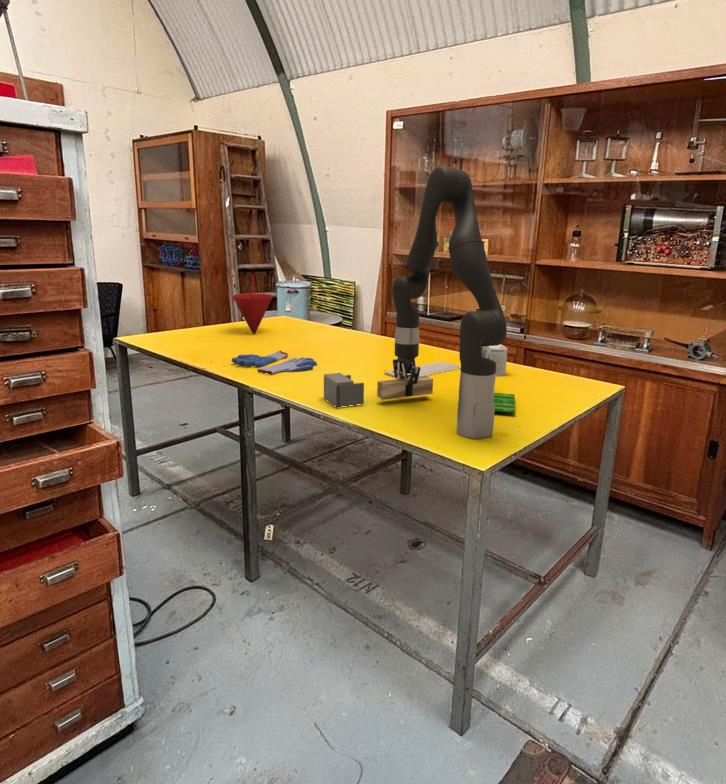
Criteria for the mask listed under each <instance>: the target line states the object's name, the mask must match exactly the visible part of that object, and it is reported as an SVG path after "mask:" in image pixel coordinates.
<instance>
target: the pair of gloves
mask: <svg viewBox="0 0 726 784" xmlns="http://www.w3.org/2000/svg"><path fill="white" fill-rule="evenodd" d="M288 357H289V354H288V353H287V351H286V352H285V351H282V350H278V351H276V352H274V353H273V352H272V353H271V354H267V355H266V356H265V355H264V356H260V355H259V354H252V353H251V354H239V355H237V356H236V357H232V358H231V362H232V363H233V364H235V365H238V366H241V365H243V366H246V367H247V368H248V367H249V368H252V367H251V366H254V367H255V368H256V367H257V372H258V373H260V372H262V373H261V374H264V373H268V374H270V375H269V376H273V375H274V376H275V374H277V373H286V372H287V373H292V372H295V371H296V372H307V371H312V370H313V369H314V367H315V366H318V363H317V362H316V361H315V359H313V358H311V357H304V356H303V357H298V358H297V357H293V358H290V359H288V360H286V361H282V362H280V363H278V364H272V365H270V366H267V364H268V365H269V364H270V363H273V362H275V361H276V360H277V361H280V360H282V359H287V358H288ZM265 365H266V366H265ZM262 366H263V367H262ZM306 370H307V371H306ZM281 371H283V372H281ZM296 372H295V373H296ZM268 374H267V375H268Z"/></svg>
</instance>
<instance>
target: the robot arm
mask: <svg viewBox="0 0 726 784" xmlns="http://www.w3.org/2000/svg"><path fill="white" fill-rule="evenodd" d="M472 184H473V183H472V180H471V177H470V175H469V173H467V172H466V171H465V170H463V169H459V168H456V167H451V166H446V165H438V166H436V167H435V168H433V170H432V171H431V172H430V174H429V176H428V178H427V181H426V187H425V188H424V189H425V190H424V195H423V200H422V203H421V209H420V214H419V219H418V224H417V228H416V233H415V236H414V239H413V242H412V244H411V247H410V250H409V252H408V256H407V257H406V258H407V259H406V264H405V265H406V267H407V268H408V269H409V270H411V271H410V274H409V275H402V276H398V277H396V279H395V280H394V281H393V283H392V287H391V295H392V299H393V303H394V309H395V312H396V315H395V333H394V356H396V357H397V358H396V359H392V367H393V370H394V376H395V378H394V379H403V378H405V382H406V389H405V395H406V396H411V397H413V396H412V391H413V384H417V381H418V377H419V373H420V367H416V366H417V365H416V358H417V357H419V354H420V353H419V351H420V348H419V347H420V311H419V309H418V308H417V307H414V306H413V305H412V300H414V299H419V298H420V297H422V296H423V294H424V293H425V291H426V289H427V285H428V279H429V271H430V266H431V264H432V261H433V258H434V256H435V255H436V254H435V253H436V250H437V246H438V233H437V225H436V223H437V213H438V210H439V208H440V205H441V204H442V203H445V204H450V206H451V207H452V211H453V215H454V221H455V223H454V227H453V230H452V232H451V235H450V238H449V241H448V253H449V258H450V262H451V265H452V266H451V267H452V270H453V273H454V274H455V275H456V277H457V278H458V280H459V281H460V282H461V283H462V284H463V285H464V287H466V288H467V289H468V291H469V292H470V293H471V295H473V297H474V299H475V301H476V303H477V305H478V308H479V310H474V311H472V310H471V311H468V312H466V313H465V314H464V315H463V316H462V318H461V320H460V327H459V362H460V368H461V369H460V372H459V373H460V374H459V384H458V385H459V387H458V403H457V416H456V417H457V418H456V428H455V429H456V433H457V434H459V436H463V437H466V438H470V439H473V440H478V439H484V438H489V437H493V434H494V425H495V424H494V423H495V422H494V421H495V402H493V399H494V393H495V387H496V377H497V376H496V363H495V361H493V360H491V359H488V358H485V357H483V356H482V348H483V346H495V345H500V344H501V345H503V343H504V341H505V340H506V338H507V333H508V331H507V323H506V317H505V314H504V312H503V309H502V306H501V302H500V300H499V297H498V295H497V291H496V289H495V284H494V283H493V279H492V274H491V271H490V267H489V263H488V258H487V254H486V250H485V246H484V242H483V238H482V236H481V235H482V234H481V231H480V226H479V222H478V217H477V212H476V205H475V197H474V189H473V185H472ZM407 374H410V375H407ZM409 377H410V378H409ZM408 378H409V380H408ZM414 378H415V379H414Z"/></svg>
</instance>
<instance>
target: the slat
mask: <svg viewBox="0 0 726 784" xmlns="http://www.w3.org/2000/svg"><path fill="white" fill-rule="evenodd" d="M414 379H415V378H414ZM408 380H409V378H408ZM376 386H377V387H376V388H377V389H376V391H377V393H376V396H377V398H378V399H381V400H382V401H385V400H394V399H400V398H401V399H402V398H408V397H409V398H411V397H417V396H424V395H432V394H433V393H434V392H433V390H434V389H433V388H434V378H432V377H430V376H422V377H418V381H417V384H413V391H412V396H406V395H405V389H406V382H405V378H403V379H397V378H394V379H388V380H387V379H386V380H385V379H384V380H378V381H377V385H376Z"/></svg>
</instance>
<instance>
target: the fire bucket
mask: <svg viewBox="0 0 726 784" xmlns="http://www.w3.org/2000/svg"><path fill="white" fill-rule="evenodd" d="M254 278H255V277H254V273H252V275H251V279H250V280H251V281H250V283H252V285H250V288H249V291H248V293H241V294H240V293H238V294H234V295H232V296H231V297H232V299H233V300H234V302H235V304H236V306H237V307H238V311H239V312H240V313H241V315H242V318H244V322H246V324H247V326H248V328H249V329H250V331H251V333H252V335H256V333H257V331H258V329H259V327H260V325H261V323H262V320H263V318H264V316H265V314H266V313H267V309H268V308H269V305H270V303H271V301H272V299H273V298H274V295H272V294H267V293H253V291H251V290H254V285H255V284H254V283H255V281H254V280H255V279H254Z"/></svg>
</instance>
